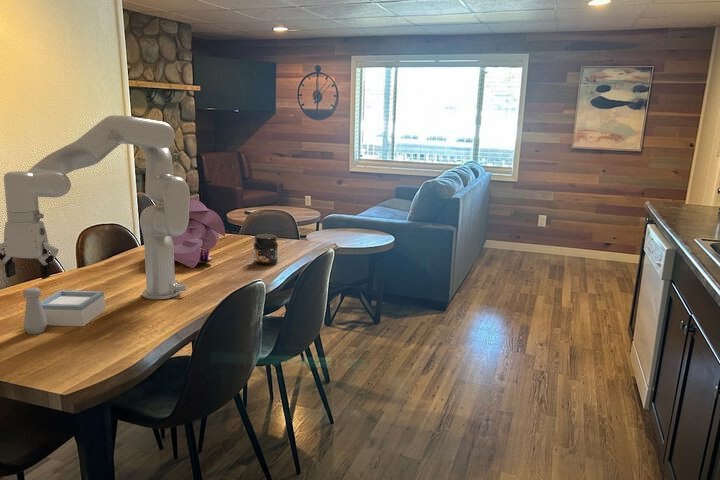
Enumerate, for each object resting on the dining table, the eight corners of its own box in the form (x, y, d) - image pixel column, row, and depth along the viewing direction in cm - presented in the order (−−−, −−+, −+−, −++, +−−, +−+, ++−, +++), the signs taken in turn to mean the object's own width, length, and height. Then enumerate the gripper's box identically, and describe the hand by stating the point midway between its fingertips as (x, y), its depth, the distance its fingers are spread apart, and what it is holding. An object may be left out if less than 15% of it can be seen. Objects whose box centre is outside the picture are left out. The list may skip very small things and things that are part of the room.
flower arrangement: (231, 269, 240) (241, 207, 239) (207, 273, 217) (218, 204, 216) (160, 255, 246) (169, 194, 245) (130, 257, 223) (140, 190, 221)
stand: (105, 309, 173) (103, 291, 171) (83, 326, 159) (81, 306, 158) (61, 308, 173) (60, 290, 171) (36, 324, 159) (34, 305, 157)
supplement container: (248, 264, 231) (248, 237, 228) (260, 258, 241) (260, 232, 238) (270, 267, 228) (270, 239, 225) (282, 261, 238) (282, 235, 235)
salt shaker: (51, 328, 157) (47, 285, 154) (41, 335, 151) (36, 292, 148) (31, 327, 157) (27, 285, 154) (20, 335, 151) (15, 291, 148)
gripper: (62, 216, 150) (66, 274, 154) (0, 213, 150) (6, 272, 154) (47, 220, 143) (51, 282, 146) (-18, 217, 143) (-12, 279, 146)
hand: (28, 277), depth 150 cm, fingers open, 9 cm apart
